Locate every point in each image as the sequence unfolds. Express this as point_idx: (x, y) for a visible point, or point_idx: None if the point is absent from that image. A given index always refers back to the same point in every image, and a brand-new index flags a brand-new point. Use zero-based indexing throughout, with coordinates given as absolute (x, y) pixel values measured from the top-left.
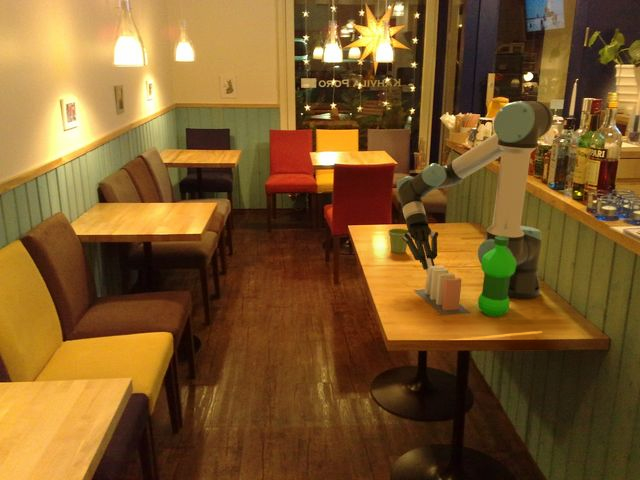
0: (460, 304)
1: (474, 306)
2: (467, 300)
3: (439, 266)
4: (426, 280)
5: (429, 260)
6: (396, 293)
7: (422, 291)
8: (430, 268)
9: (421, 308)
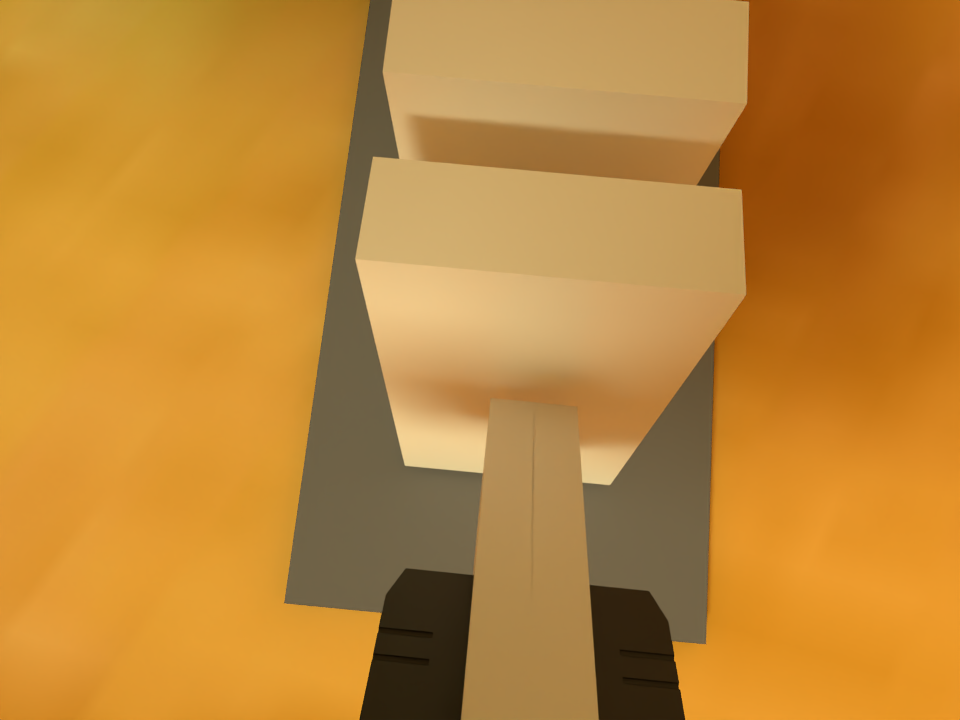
0: (365, 44)
1: (216, 14)
2: (175, 178)
3: (465, 235)
4: (653, 419)
5: (516, 698)
6: (956, 647)
7: (601, 552)
8: (741, 203)
9: (830, 121)
